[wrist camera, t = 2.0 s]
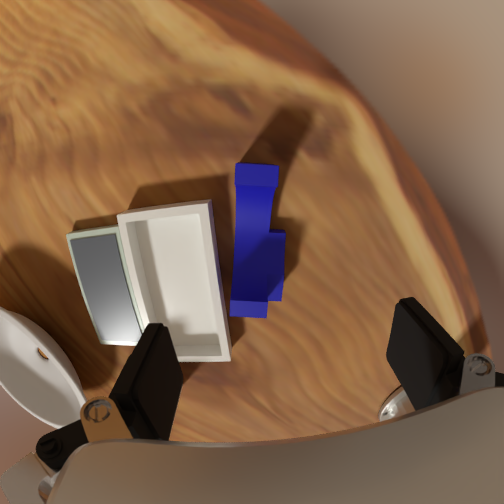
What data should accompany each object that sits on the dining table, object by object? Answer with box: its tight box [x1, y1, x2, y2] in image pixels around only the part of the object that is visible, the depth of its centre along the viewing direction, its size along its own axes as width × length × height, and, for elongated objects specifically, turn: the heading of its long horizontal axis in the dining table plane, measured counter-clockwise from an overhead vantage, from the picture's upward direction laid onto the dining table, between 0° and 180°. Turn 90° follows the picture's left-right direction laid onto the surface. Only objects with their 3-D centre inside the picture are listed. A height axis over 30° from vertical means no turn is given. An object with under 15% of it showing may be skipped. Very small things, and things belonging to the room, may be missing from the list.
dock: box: [117, 199, 232, 362], centre depth 27 cm, size 9×17×2 cm, turn 5°
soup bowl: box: [0, 307, 87, 429], centre depth 29 cm, size 24×24×7 cm
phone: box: [66, 224, 145, 346], centre depth 28 cm, size 7×14×1 cm, turn 5°
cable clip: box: [230, 162, 286, 318], centre depth 23 cm, size 12×4×6 cm, turn 177°
